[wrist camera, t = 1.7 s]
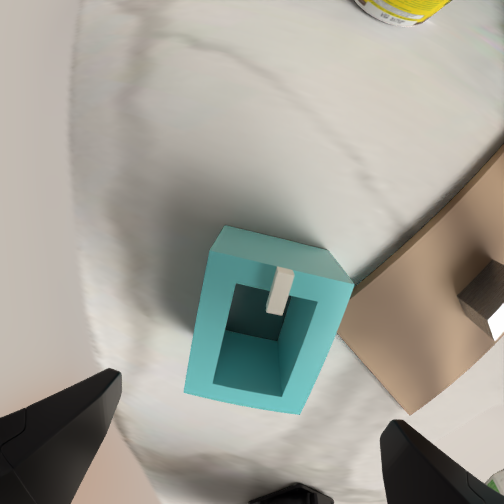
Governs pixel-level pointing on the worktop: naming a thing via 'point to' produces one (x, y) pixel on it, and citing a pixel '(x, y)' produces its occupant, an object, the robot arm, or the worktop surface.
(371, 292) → the base plate
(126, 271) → the worktop surface
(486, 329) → the grey rectangular block
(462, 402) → the worktop surface
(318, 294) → the teal hollow block
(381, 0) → the supplement bottle
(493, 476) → the skincare box
